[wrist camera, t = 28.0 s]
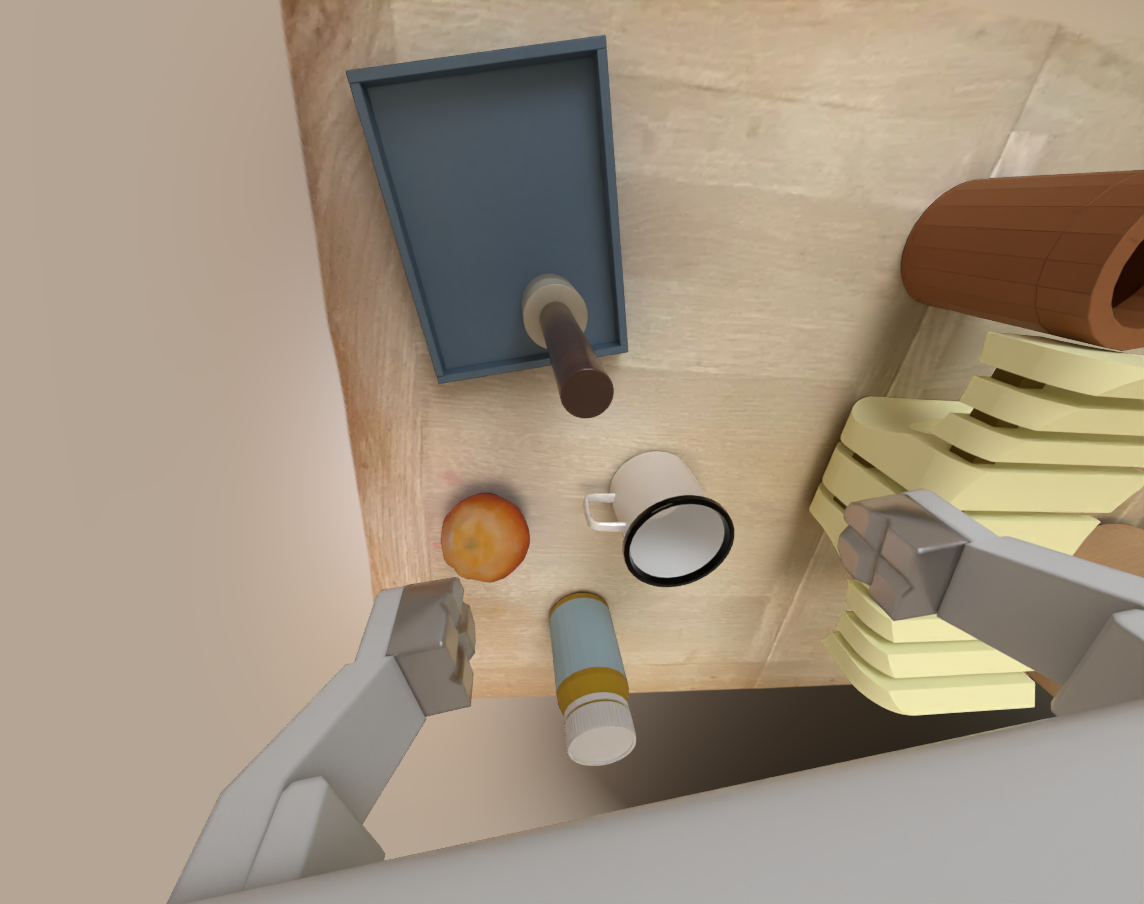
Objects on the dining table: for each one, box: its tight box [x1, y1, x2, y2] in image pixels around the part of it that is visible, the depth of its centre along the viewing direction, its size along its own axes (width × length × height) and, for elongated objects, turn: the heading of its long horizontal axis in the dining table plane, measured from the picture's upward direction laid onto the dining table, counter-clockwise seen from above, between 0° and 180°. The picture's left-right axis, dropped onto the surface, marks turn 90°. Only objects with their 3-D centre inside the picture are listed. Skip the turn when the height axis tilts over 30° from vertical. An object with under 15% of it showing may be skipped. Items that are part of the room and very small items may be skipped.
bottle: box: [549, 593, 636, 766], centre depth 46 cm, size 7×7×15 cm
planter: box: [1025, 524, 1144, 697], centre depth 52 cm, size 22×22×20 cm
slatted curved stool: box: [809, 332, 1144, 715], centre depth 39 cm, size 30×16×18 cm, turn 174°
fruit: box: [441, 493, 530, 582], centre depth 42 cm, size 8×8×8 cm
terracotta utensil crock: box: [901, 170, 1144, 351], centre depth 31 cm, size 9×9×14 cm
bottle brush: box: [521, 274, 614, 418], centre depth 26 cm, size 4×4×19 cm
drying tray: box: [346, 35, 628, 384], centre depth 32 cm, size 19×15×2 cm
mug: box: [583, 451, 734, 587], centre depth 41 cm, size 12×10×9 cm
